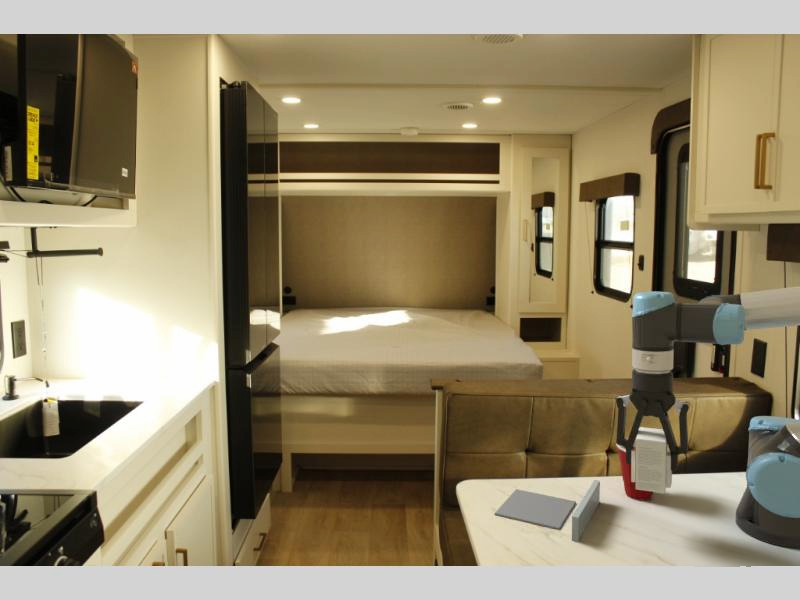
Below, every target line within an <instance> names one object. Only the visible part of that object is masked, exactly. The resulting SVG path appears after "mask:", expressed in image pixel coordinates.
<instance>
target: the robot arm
mask: <svg viewBox="0 0 800 600" xmlns="http://www.w3.org/2000/svg"><path fill="white" fill-rule="evenodd" d="M632 299H633V300H632V301H633V302H632V314H631V326H632V327H631V328H632V330H631V333H632V334H631V335H632V339H631V340H632V345H631V346H632V352H631V353H632V354H631V359H632V360H631V366H632V367H633V368H634V369H632V371H631V391H630V393H629V394H628V395H624V396H623V395H622V394H620V395H618V396H617V397H616V399H615V402H616V406H617V409H618V410H617V423H616V440H615V442H616V443H617V444H618V445H621V446H623V447H625V449H626V463H627V464H631V482H636V447H633V445H634V442H635V439H636V437H637V433H638V431H639V428H640V427H641V425H642V423H643V419H644V417H654V418H658V420H659V423H660V424H661V427H662V428H661V429H662V430H663V431H664V434H665V437H666V440H667V448H668V449H669V450H667V455H666V488H667V489H671V487H672V485H673V484H672V482H673V472H677V470H678V468H679V456H680V455H686V454H688V451H689V431H688V429H689V428H688V411H689V409H690V406H691V403H690V402H689V401H682V400H678V399H676V396H675V395H674V373H673V372H672V370H673V369H674V352H675V350H674V342H680V343H682V342H683V343H685V342H686V343H699V344H713V345H715V344H716V345H720V346H726V345H741V344H742V343H744V341H745V331H748V330H749V331H751V330H762V329H764V330H765V329H774V328H783V327H785V328H787V327H795V326H800V285H799V286H792V287H783V288H776V289H767V290H765V289H764V290H758V291H751V292H742V293H739V294H737V293H736V294H727V295H719V294H716V295H715V294H714V295H713V294H712V295H709V296H705V297H704V298H702V299H701V300H700V301H699V302H697V303H694V302H693V303H691V302H688V303H686V302H685V303H684V302H676V299H675V296H674V293H673V292H670V291H669V292H668V291H656V290H654V291H640V292H638V293H636V294H635V295H634V296H633V298H632ZM630 402H631V403H632V405H633V406H634V408H635V409H636V414H635V419H634V420H633V422H632V426H631V429H630V432H629V435H628V438H625V437H626V423H627V421H626V420H627V407H628V406H629V405H630ZM673 406H675V409H676V412H677V413H679V415H678V427H679V442H680V443H679V445H678V443H677V441H676V438H675V437H676V436H675V434H674V431H673V428H672V425H671V421H670V417H669V414H668V411H670V410H671V409H672V407H673ZM748 432H749V434H748V450H747V451H748V453H747V454H748V455H747V456H748V457H747V465H746V471H745V477H746V479H745V480H746V488H745V489H744V492H743V494H742V497H741V498H740V501H739V503H738V505H737V507H736V511H735V524H736V526H737V527H738V528H739V529H740V530H741V531H742V532H744V533H746V534H747V535H748V536H751V537H752V538H755V539H758V540H760V541H761V542H762V541H763V542H766V543H768V544H772V545H775V546H779V547H780V546H781V547H786V548H793V549H794V548H796V549H800V419H796V418H791V417H783V416H773V415H772V416H771V415H758V416H754V417H752V418H751V419H750V422H749V427H748ZM627 439H628V440H627Z"/></svg>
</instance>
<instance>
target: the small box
mask: <svg viewBox="0 0 800 600" xmlns="http://www.w3.org/2000/svg"><path fill="white" fill-rule="evenodd" d="M667 453H668V444H667V440H666V437H665V434H664V431H663V428H661V429H660V428H654V427H653V428H652V427H643V426H640V428H639V431H638V433H637V436H636V489H637V490H645V491H652V492H653V493H660V494H666V490H667V489H666V455H667Z"/></svg>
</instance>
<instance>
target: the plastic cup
mask: <svg viewBox="0 0 800 600" xmlns="http://www.w3.org/2000/svg"><path fill="white" fill-rule="evenodd" d="M626 439H627V440H628V438H626ZM633 447H636V439H635V442H634V445H633ZM616 448H617V450H618V455H619V461H620V468H621V469H620V470H621V475H622V481H623V485H624V486H623V488H624V492H625V495H626V496H627V497H628V498H630V499H633V500H637V501H649V500H651V499H652V497H653V495H654V492H652V491H645V490H637V489H636V482H631V464H627V463H626V449H625V447H623V446H621V445H618V444H617V443H616Z"/></svg>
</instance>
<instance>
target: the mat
mask: <svg viewBox="0 0 800 600" xmlns="http://www.w3.org/2000/svg"><path fill="white" fill-rule="evenodd" d="M576 504H577V502H576V500H573V499H572V500H571V499H565V498H561V497H555V496H550V495H546V494H542V493H538V492H531V491H527V490H522V489H518V488H516V489H515V490H514V491H512V493H511V494H510V495H509V496H508V498H507V499H506V500H505V501H504V502H503V503H502V504H501V505H500V507H499V508H498V509H497V510H496V511H495V512H494V515H495V516H498V517H503V518H506V519H511V520H515V521H519V522H524V523H529V524H531V525H537V526H541V527H545V528H549V529H552V530H553V529H554V530H558V531H559V530H560V529H561V527H562V526H563V524H564V523H565V521H566V520H567V518H568V516H569V515H570V513H571V511H572V509H573V508H574V506H575V505H576Z"/></svg>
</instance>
